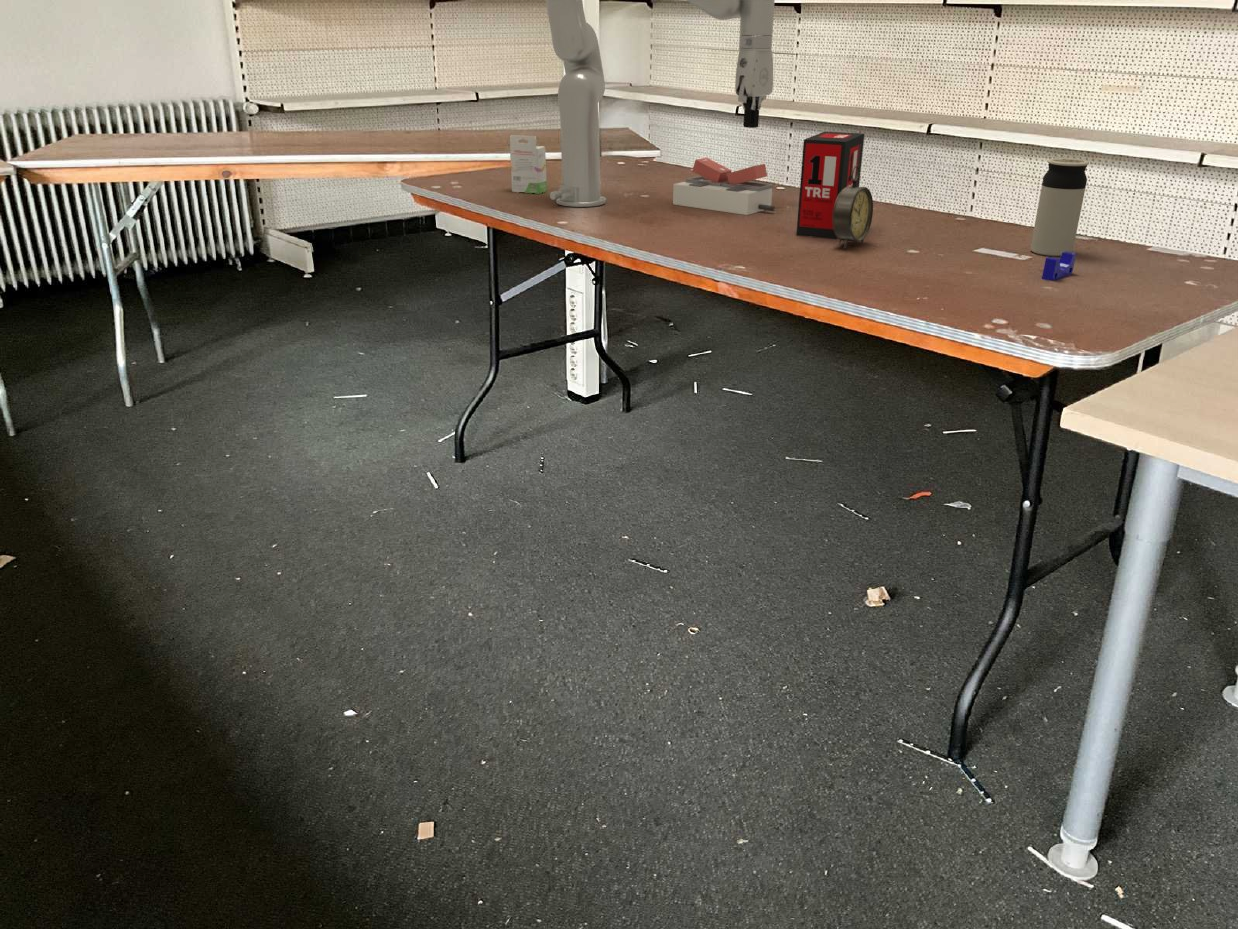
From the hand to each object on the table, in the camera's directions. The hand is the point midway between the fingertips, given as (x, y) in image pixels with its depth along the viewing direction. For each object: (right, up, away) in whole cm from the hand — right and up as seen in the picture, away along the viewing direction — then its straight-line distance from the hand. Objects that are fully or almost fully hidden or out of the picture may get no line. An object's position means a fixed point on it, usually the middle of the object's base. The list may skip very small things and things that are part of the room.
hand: (750, 126), depth 233 cm
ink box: (-56, -8, +29) cm, 63 cm away
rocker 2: (0, -11, +5) cm, 12 cm away
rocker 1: (-8, -8, +11) cm, 16 cm away
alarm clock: (+16, -35, -30) cm, 49 cm away
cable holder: (+49, -46, -52) cm, 85 cm away
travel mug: (+56, -38, -35) cm, 77 cm away
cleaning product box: (+15, -29, -16) cm, 36 cm away
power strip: (-4, -17, +9) cm, 20 cm away
